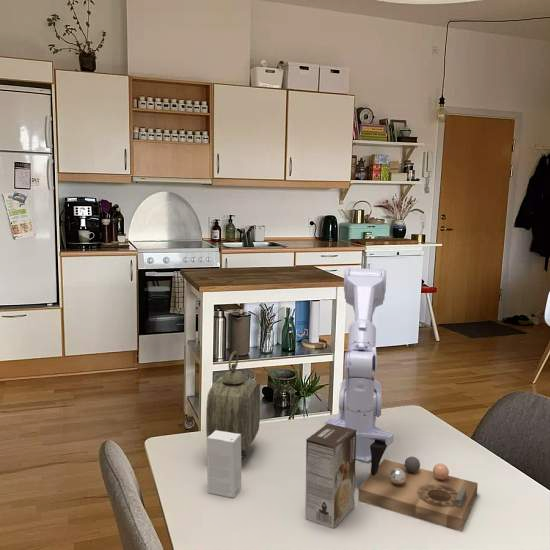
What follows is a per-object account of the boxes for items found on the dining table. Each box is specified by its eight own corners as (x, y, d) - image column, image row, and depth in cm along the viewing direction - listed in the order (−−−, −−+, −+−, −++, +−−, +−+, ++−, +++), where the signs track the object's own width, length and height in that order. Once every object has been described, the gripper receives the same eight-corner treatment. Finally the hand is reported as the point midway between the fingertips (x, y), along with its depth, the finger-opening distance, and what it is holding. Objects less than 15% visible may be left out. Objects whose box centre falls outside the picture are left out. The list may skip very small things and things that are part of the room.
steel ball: (387, 485, 114) (387, 470, 113) (392, 478, 117) (393, 463, 116) (402, 489, 112) (403, 474, 112) (407, 482, 115) (408, 467, 114)
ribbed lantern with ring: (225, 441, 139) (225, 342, 135) (260, 444, 137) (261, 345, 134) (206, 468, 125) (206, 359, 121) (245, 472, 123) (246, 362, 120)
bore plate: (358, 500, 113) (359, 481, 112) (383, 469, 125) (384, 452, 125) (460, 531, 103) (462, 511, 102) (476, 494, 115) (478, 476, 115)
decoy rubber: (402, 472, 119) (402, 458, 119) (406, 466, 122) (407, 452, 121) (417, 476, 117) (417, 462, 117) (421, 470, 120) (422, 456, 120)
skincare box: (242, 488, 117) (242, 433, 115) (233, 498, 113) (234, 442, 111) (215, 483, 119) (215, 429, 117) (206, 493, 115) (206, 437, 113)
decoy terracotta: (430, 480, 116) (431, 465, 116) (434, 473, 119) (435, 459, 118) (446, 484, 114) (447, 469, 114) (450, 477, 117) (450, 463, 117)
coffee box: (325, 497, 114) (328, 421, 111) (355, 506, 110) (357, 429, 108) (303, 519, 106) (305, 438, 104) (334, 530, 103) (336, 446, 100)
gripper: (319, 406, 117) (317, 467, 119) (386, 420, 110) (383, 486, 112) (333, 396, 123) (331, 454, 125) (397, 409, 116) (395, 471, 118)
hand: (357, 468), depth 119 cm, fingers open, 7 cm apart
